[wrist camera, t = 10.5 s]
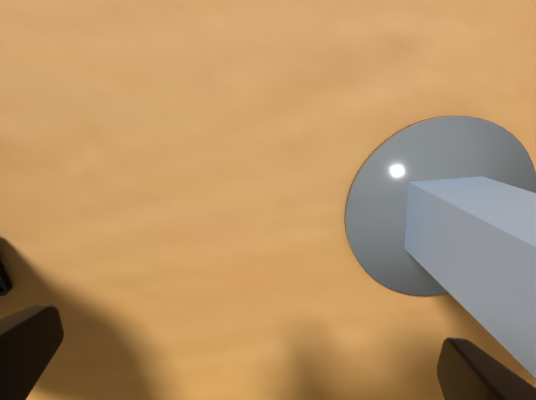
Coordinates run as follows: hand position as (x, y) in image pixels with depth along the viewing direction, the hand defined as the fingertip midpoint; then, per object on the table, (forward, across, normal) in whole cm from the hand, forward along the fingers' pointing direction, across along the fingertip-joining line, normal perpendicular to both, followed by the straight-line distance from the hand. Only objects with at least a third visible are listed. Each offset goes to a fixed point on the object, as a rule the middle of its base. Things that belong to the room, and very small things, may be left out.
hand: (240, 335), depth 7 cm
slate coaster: (+14, -10, +2) cm, 17 cm away
